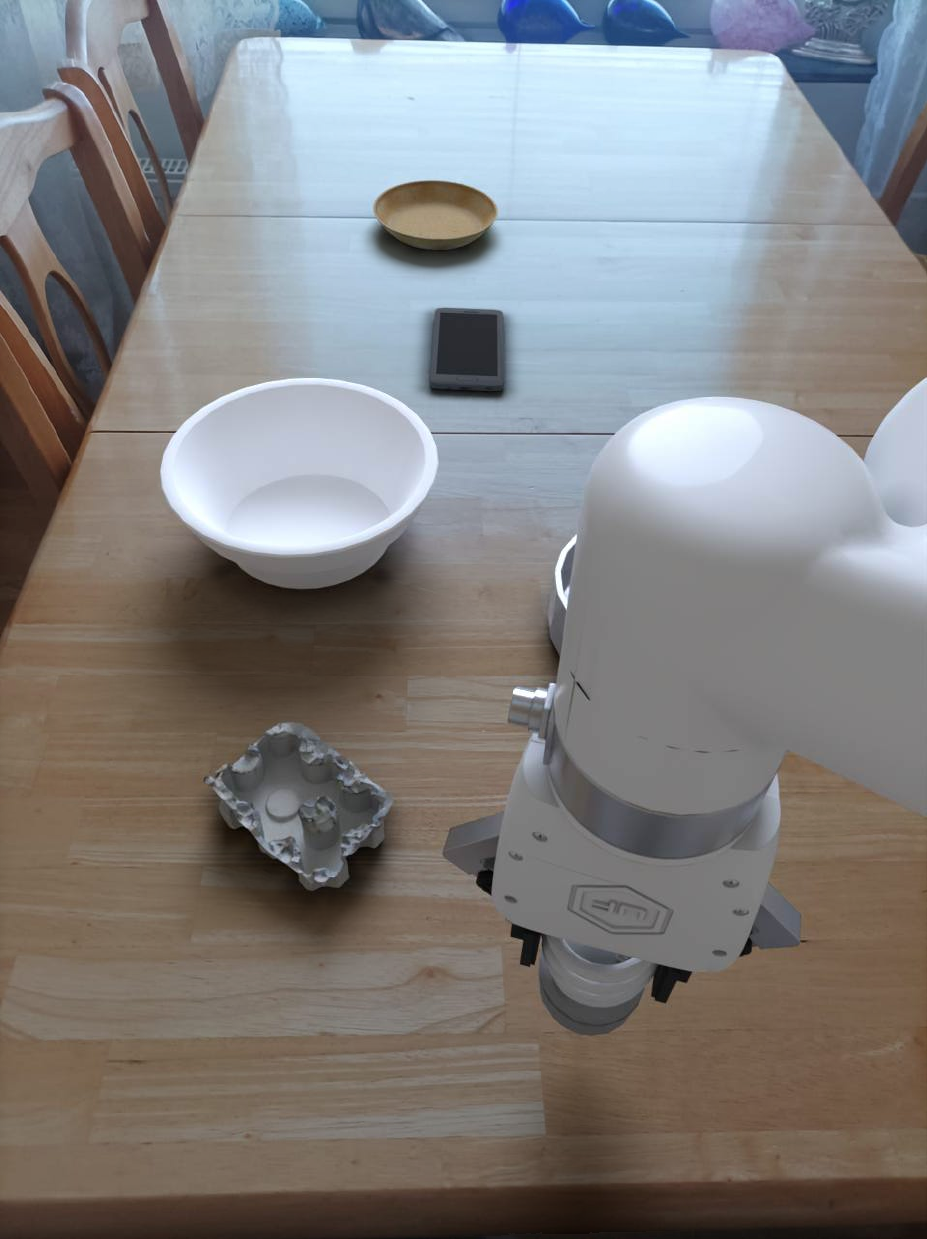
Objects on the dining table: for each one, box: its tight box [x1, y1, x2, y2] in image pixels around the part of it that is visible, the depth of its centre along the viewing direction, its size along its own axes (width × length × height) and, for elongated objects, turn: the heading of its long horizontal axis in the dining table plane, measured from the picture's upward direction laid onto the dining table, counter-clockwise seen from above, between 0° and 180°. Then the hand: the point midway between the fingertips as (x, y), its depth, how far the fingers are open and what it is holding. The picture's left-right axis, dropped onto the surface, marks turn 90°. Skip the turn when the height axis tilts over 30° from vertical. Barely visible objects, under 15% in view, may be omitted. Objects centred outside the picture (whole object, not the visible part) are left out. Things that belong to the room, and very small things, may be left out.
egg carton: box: [202, 721, 395, 892], centre depth 59 cm, size 11×8×4 cm
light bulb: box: [537, 933, 659, 1037], centre depth 46 cm, size 6×6×12 cm
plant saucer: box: [372, 179, 499, 251], centre depth 112 cm, size 15×15×3 cm
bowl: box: [159, 377, 440, 590], centre depth 74 cm, size 21×21×8 cm
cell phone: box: [429, 307, 506, 392], centre depth 95 cm, size 7×14×1 cm, turn 179°
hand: (597, 952), depth 45 cm, fingers closed on light bulb, 5 cm apart
